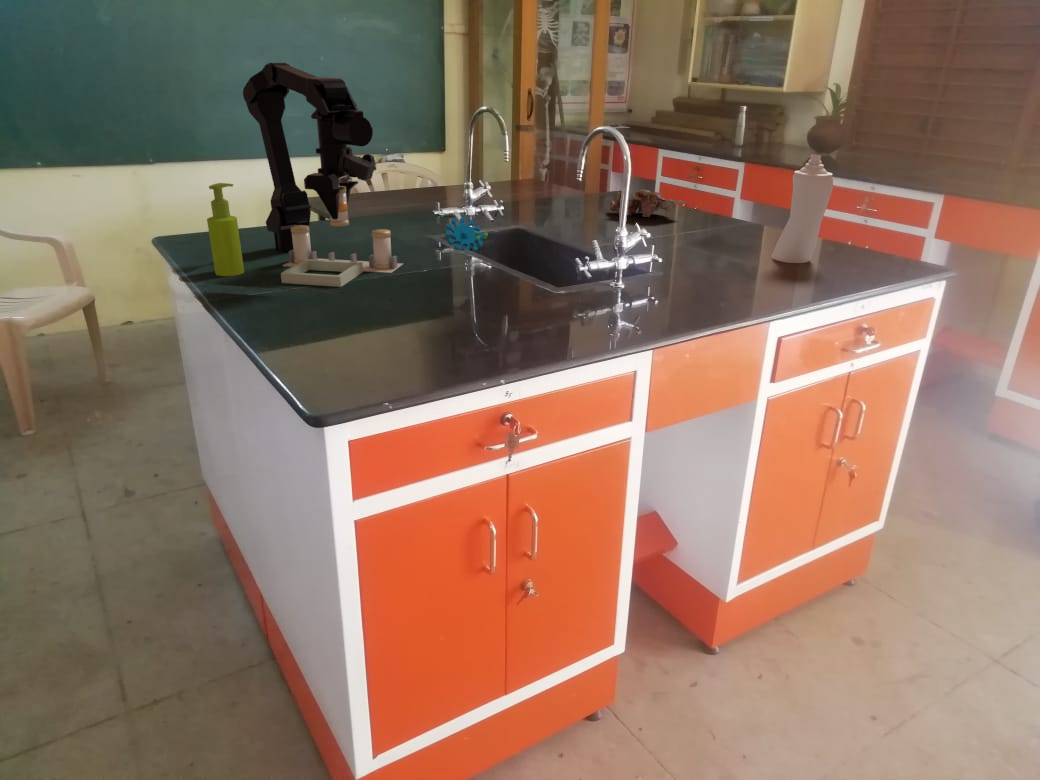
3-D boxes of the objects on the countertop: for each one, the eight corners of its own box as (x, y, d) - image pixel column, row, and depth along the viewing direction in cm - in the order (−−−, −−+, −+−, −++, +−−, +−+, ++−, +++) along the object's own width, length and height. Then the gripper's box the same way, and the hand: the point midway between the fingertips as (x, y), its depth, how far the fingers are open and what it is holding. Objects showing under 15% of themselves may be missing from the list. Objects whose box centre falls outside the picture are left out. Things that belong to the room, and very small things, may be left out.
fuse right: (371, 268, 169) (369, 232, 166) (378, 264, 173) (375, 228, 169) (388, 269, 168) (386, 233, 165) (395, 265, 172) (393, 229, 169)
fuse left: (291, 264, 172) (287, 228, 169) (299, 259, 176) (295, 224, 173) (307, 265, 172) (304, 229, 168) (315, 260, 175) (312, 225, 172)
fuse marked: (327, 225, 167) (323, 188, 164) (334, 222, 170) (331, 185, 167) (344, 226, 166) (341, 189, 163) (351, 223, 170) (348, 186, 167)
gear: (448, 248, 187) (444, 214, 190) (442, 261, 192) (438, 227, 195) (491, 251, 191) (486, 217, 194) (484, 264, 196) (479, 230, 199)
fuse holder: (282, 272, 171) (280, 254, 170) (298, 263, 178) (296, 246, 177) (391, 279, 167) (390, 261, 165) (403, 270, 174) (402, 252, 172)
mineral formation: (689, 217, 228) (691, 185, 228) (650, 206, 218) (652, 172, 219) (637, 229, 246) (638, 199, 246) (598, 219, 237) (600, 188, 237)
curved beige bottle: (822, 258, 188) (840, 152, 178) (818, 268, 179) (837, 157, 169) (773, 253, 193) (789, 149, 183) (767, 262, 184) (782, 154, 174)
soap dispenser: (253, 275, 168) (241, 182, 160) (233, 283, 162) (219, 187, 154) (231, 273, 170) (218, 180, 162) (210, 281, 164) (195, 185, 156)
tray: (282, 289, 159) (280, 273, 157) (307, 274, 170) (306, 259, 168) (341, 293, 157) (340, 276, 155) (363, 278, 167) (362, 262, 166)
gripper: (351, 148, 152) (357, 227, 158) (384, 139, 169) (388, 211, 175) (299, 147, 154) (307, 225, 160) (336, 138, 170) (342, 209, 177)
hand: (339, 217), depth 168 cm, fingers closed on fuse marked, 4 cm apart
